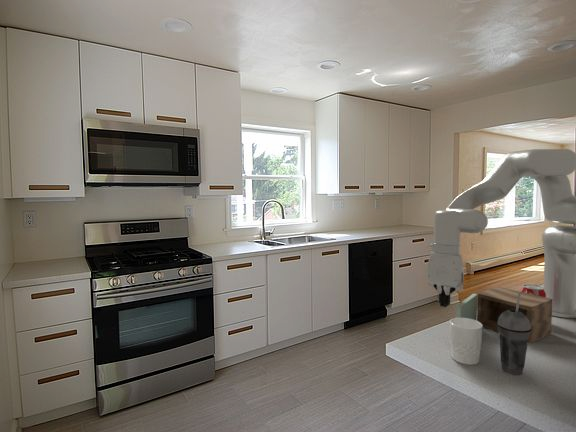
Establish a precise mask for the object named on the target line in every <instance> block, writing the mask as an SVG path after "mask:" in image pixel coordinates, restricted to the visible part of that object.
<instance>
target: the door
mask: <svg viewBox="0 0 576 432" xmlns="http://www.w3.org/2000/svg"><path fill="white" fill-rule="evenodd" d="M477 302H478V293H472V294H471V295H469V296H468V297H467V298H465V299H463V301H461V302H460V303H458V304H457V305H456V312H455V313H454V318H469V319H473V320H476V321H477Z"/></svg>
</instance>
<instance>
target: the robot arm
mask: <svg viewBox="0 0 576 432" xmlns="http://www.w3.org/2000/svg"><path fill="white" fill-rule="evenodd" d="M575 171H576V152H575V151H573V150H571V149H569V148H549V149H548V148H537V149H536V148H535V149H524V150H516V151H510V152H508V153H506V154H504V156H502V157H501V158H500V160H498V161H497V163H496V164H495V166H494V167H493V168H492V169H491V170H490V171H489V173H487V175H486V176H485V178H483V180H482V181H480V182H478V183H477V184H475V185H473V186H472V187H470V188H468V189H466V190H465V191H463V192H461V194H459V195H458V196H456V197H455V198H454V200H452V202H451V203H450V204H449V205H448V207H446V209H440V210H436V211H435V213H434V218H433V219H434V221H433V223H434V224H433V243H429V245H428V247H429V249H432V251H431V252H430V254H429V258H428V262H427V269H426V281H427V286H431V287H433V288H434V289H435V290H436V291H437V294H438V302H439V306H440V307H443V308H447V307H449V305H450V304H451V294H453V293H454V292H462V291H464V285H463V284H464V281H465V279H464V278H465V277H464V275H465V274H464V273H465V272H464V271H465V270H464V264H463V263H464V262H463V257H462V254H461V253H460V247H461V246H460V241H461V240H460V239H461V233H463V234H464V233H466V234H479V233H481V232H482V231H484V230H485V229H486V228H487V227H488V223H489V220H488V217H487V215H486V214H485V213H484V212H483V211H481V210H478V209H476V208H478V207H481V206H483V205H487V204H490V203H494V202H497V201H499V200H500V201H501V200H502V199H504V198H505V197H507V196H508V195H509V193H510V192H511V190H512V189H513V188H514V187H515V186H516V185H517V184H518V182H519V181H520V180H521V179H522V178H525V177H531V178H532V179H533V180H534V181H535V182H536V183H537V184H538V187H539V191H540V195H541V203H542V209H543V211H542V212H543V214H544V218H545V219H546V220H547V221H549V222H552V223H559V224H557V225H555V224H554V225H550V226H548V227H546V228H545V229H544V230H543V233H542V234H541V235H542V236H541V241H542V247H543V253H544V265H543V267H544V268H543V286H542V287H543V288H544V291H545V293H546V298H550V299H553V300H552V317H557V318H558V317H559V318H566V319H567V318H568V319H576V257H575V255H576V195H574V194H573V191H572V185H571V181H570V179H569V177H568V176H569V175H571V174H573V173H574V172H575ZM562 224H564V225H562ZM572 225H573V226H572Z"/></svg>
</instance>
